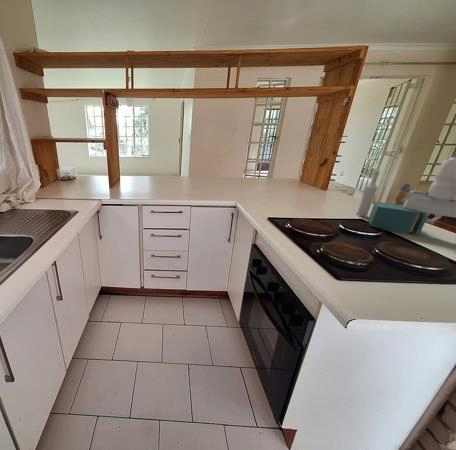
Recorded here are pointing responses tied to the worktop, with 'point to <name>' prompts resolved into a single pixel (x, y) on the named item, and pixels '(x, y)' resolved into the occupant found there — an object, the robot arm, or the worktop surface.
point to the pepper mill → (402, 194)
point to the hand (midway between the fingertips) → (428, 223)
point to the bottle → (368, 196)
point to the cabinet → (392, 217)
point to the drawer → (419, 222)
